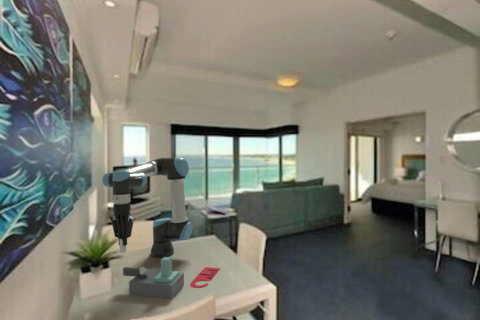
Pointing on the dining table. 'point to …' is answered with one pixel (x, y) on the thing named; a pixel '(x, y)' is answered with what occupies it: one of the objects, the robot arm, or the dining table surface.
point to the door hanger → (204, 276)
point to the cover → (166, 271)
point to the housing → (155, 285)
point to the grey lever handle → (134, 272)
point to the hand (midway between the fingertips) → (123, 252)
